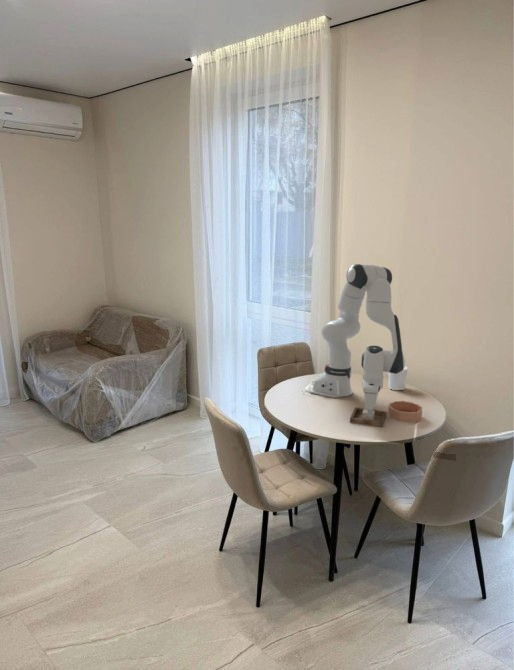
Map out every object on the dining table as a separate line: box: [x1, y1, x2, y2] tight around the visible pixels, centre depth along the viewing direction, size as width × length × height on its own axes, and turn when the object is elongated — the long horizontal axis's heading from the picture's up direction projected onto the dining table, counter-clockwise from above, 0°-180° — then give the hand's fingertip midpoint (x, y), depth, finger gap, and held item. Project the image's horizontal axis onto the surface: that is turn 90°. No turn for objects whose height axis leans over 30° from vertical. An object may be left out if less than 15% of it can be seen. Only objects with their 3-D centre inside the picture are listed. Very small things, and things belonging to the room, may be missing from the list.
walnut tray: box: [349, 407, 387, 428], centre depth 218 cm, size 14×14×3 cm
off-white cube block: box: [362, 408, 375, 421], centre depth 218 cm, size 5×4×4 cm
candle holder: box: [388, 366, 408, 391], centre depth 261 cm, size 10×10×12 cm
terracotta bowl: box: [387, 400, 423, 424], centre depth 223 cm, size 15×15×5 cm
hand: (371, 412), depth 218 cm, fingers open, 8 cm apart
